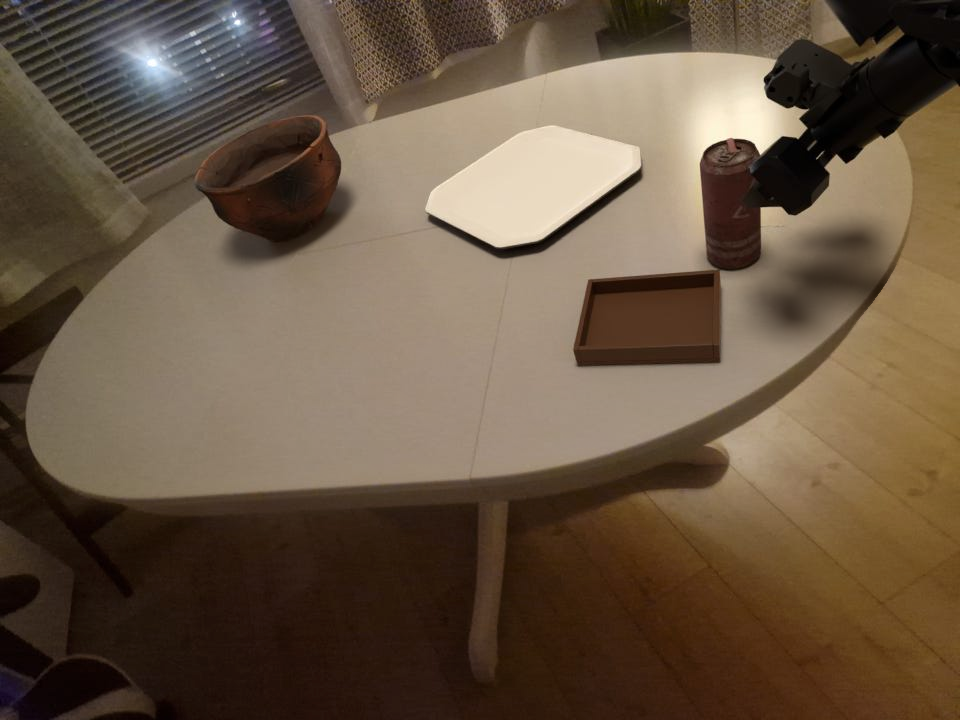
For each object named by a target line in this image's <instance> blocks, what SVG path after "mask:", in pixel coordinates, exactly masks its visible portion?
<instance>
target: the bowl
mask: <svg viewBox="0 0 960 720" xmlns="http://www.w3.org/2000/svg"><path fill="white" fill-rule="evenodd" d="M341 172H342V159H341V156H340V154H339V152H338V151H337V150H336V147H334V144H333V142H332V141H331V139H330V135H329V130H328V124H327V122H326V121H325V120H324V118H323V117H321V116H318V115H316V114H314V115H295V116H290V117H286V118H282V119H278V120H275V121H272V122H268V123H267V124H263V125H260V126H258V127H255V128H253V129H250V130H248V131H246V132H243V133H242V134H240V135H238V136H236V137H235V138H233V139H232V140H230V141H228V142H227V143H224V144H223V145H221V146H219V147H217V148H216V149H215V150H214V151H212V152H211V153H210V154H209V155H208V156H207V157H206V158H205V159H204V160H203V162H202V163H201V165H200V167H199V170H198V172H197V173H195V174H196V175H195V177H194V186H195V189H196V190H197V191H198V192H200V193H202V194H203V195H204V196H205V197H206V198H207V199H208V201H209V202H210V204H211V206H212V209H213V211H214V213H215V214H216V216H217V217H218V219H220V220H222V222H224V223H226V224H227V225H229V226H230V227H233V228H234V229H237V230H239V231H242V232H245V233H248V234H252V235H255V236H257V237H260V238H264V239H266V240H267V241H268V240H269V241H271V242H274V243H279V242H286V241H289V240H292V239H294V238H297V237H299V236H301V235H303V234H305V233H307V232H308V231H309V230H310V229H311V227H314V226H315V225H317V224H318V223H319V222H320V221H321V220H322V218H323V217H324V215H325V212H326V210H327V209H328V207H329V205H330V203H331V201H332V200H333V199H332V198H333V197H334V193H335V192H336V190H337V188H338V184H339V181H340V177H341Z"/></svg>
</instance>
